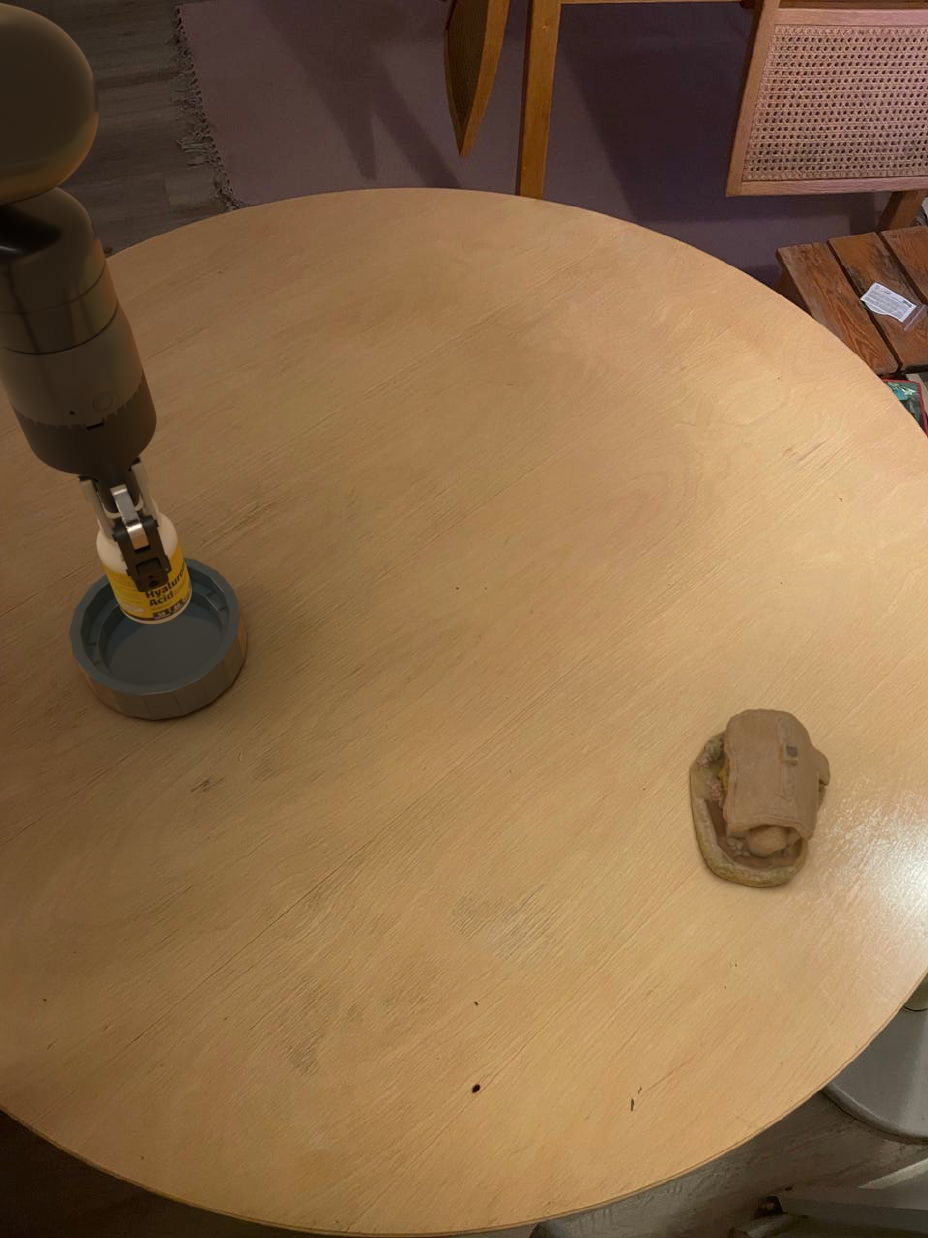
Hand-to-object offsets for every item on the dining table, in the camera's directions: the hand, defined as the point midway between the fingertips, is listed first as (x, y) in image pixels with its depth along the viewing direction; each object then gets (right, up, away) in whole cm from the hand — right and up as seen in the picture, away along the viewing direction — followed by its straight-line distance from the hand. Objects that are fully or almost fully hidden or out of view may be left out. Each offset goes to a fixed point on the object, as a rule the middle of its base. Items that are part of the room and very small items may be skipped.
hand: (139, 552), depth 72 cm
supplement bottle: (0, -3, +5) cm, 6 cm away
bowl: (-3, -8, +18) cm, 20 cm away
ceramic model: (+47, -20, +13) cm, 52 cm away
